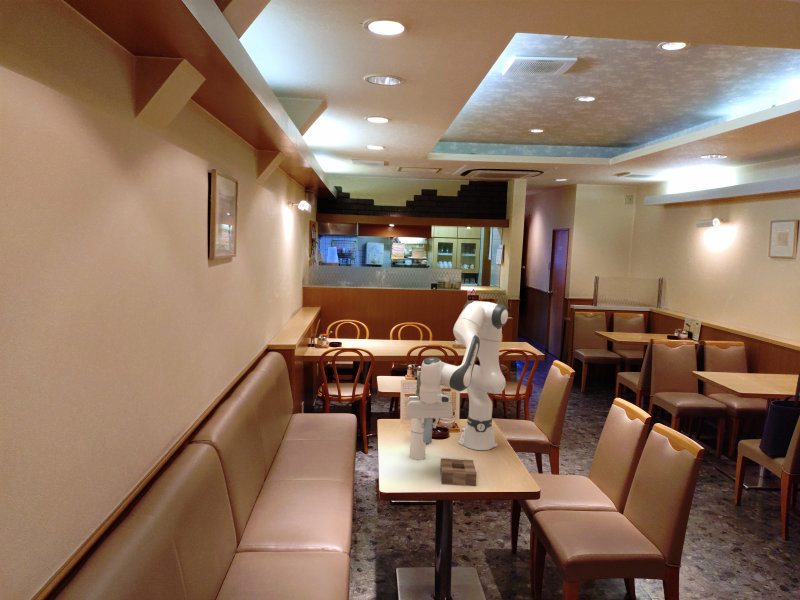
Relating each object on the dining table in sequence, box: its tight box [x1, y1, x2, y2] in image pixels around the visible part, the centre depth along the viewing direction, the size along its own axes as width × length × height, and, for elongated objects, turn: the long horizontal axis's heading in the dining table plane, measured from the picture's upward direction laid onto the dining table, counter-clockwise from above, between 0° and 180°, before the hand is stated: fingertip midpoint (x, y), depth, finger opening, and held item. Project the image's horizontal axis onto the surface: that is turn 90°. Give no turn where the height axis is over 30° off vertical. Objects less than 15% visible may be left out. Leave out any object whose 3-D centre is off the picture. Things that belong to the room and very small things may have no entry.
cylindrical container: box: [409, 418, 427, 461], centre depth 248 cm, size 7×7×25 cm
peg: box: [423, 417, 434, 444], centre depth 231 cm, size 4×4×12 cm
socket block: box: [439, 458, 478, 487], centre depth 230 cm, size 14×14×5 cm
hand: (428, 427), depth 231 cm, fingers closed on peg, 4 cm apart
